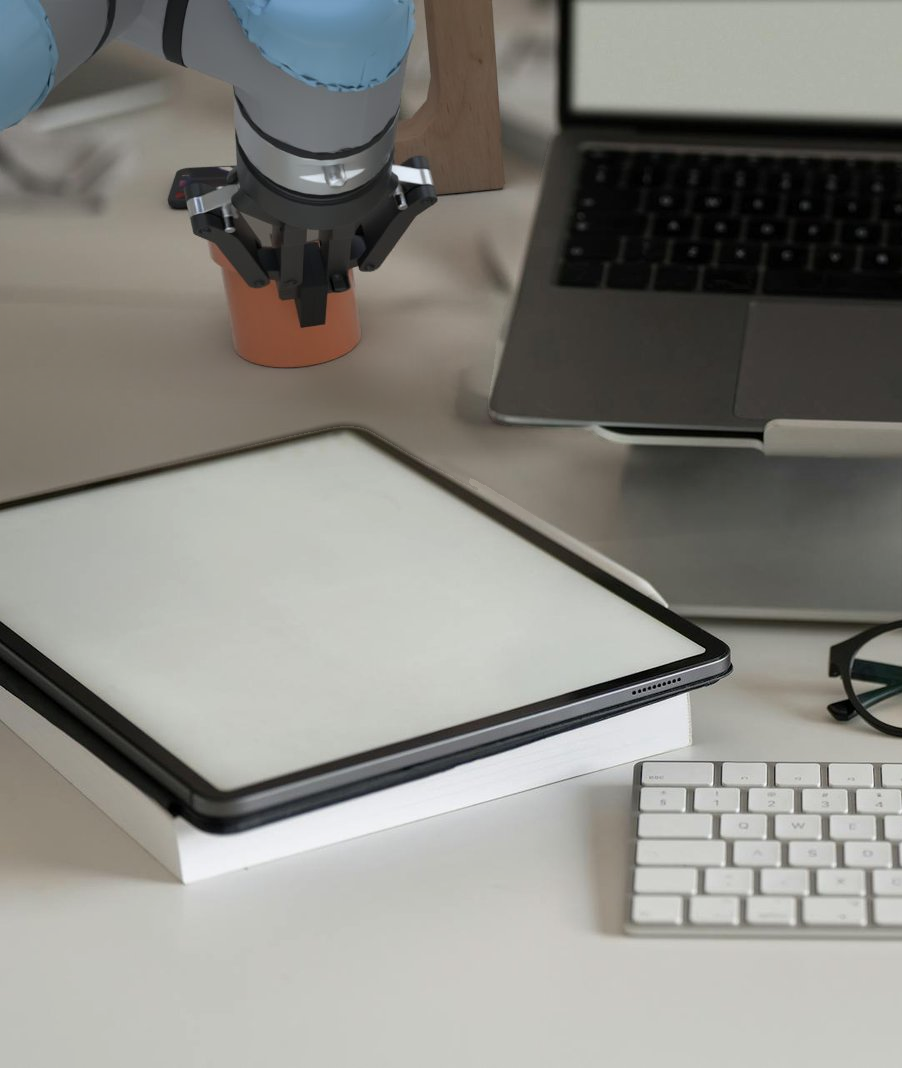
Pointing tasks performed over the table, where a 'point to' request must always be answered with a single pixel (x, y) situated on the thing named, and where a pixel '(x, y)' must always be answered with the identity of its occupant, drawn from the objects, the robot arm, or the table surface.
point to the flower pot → (284, 316)
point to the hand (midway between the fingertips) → (308, 305)
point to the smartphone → (196, 181)
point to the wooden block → (458, 101)
